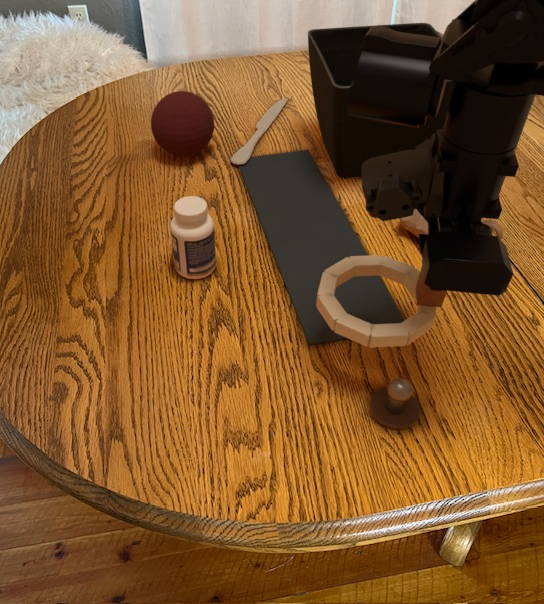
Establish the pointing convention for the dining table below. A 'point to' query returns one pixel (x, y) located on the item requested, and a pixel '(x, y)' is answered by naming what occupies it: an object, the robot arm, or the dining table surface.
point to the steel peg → (395, 405)
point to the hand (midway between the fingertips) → (434, 280)
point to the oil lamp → (420, 225)
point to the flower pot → (335, 91)
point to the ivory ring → (378, 332)
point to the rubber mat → (312, 241)
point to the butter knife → (258, 133)
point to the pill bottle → (193, 238)
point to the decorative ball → (182, 124)
